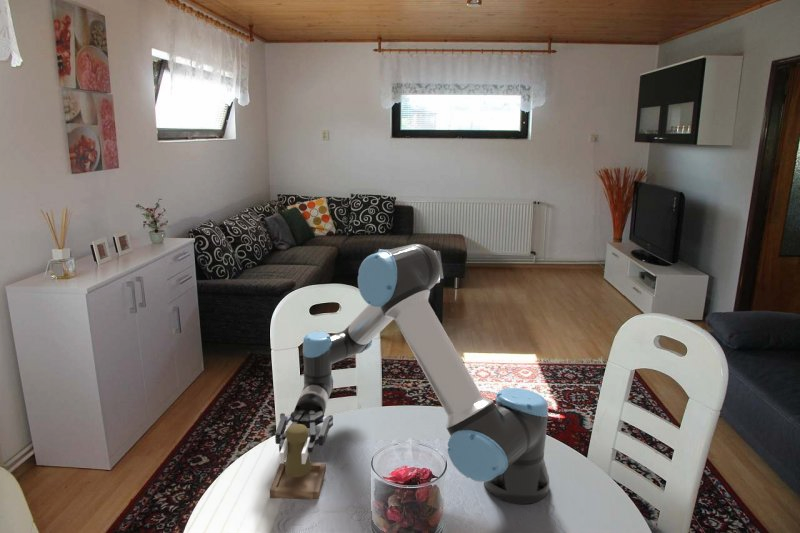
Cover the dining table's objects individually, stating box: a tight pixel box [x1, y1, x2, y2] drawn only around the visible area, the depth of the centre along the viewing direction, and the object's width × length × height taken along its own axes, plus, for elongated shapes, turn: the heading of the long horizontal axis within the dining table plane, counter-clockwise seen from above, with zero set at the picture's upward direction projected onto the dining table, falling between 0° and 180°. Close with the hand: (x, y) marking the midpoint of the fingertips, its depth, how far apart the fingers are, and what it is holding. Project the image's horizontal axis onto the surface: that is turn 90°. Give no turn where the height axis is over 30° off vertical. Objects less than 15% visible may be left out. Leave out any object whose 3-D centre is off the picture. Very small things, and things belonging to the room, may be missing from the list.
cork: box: [285, 424, 312, 477], centre depth 131 cm, size 6×6×11 cm
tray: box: [269, 461, 327, 501], centre depth 133 cm, size 11×11×2 cm
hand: (292, 458), depth 126 cm, fingers closed on cork, 4 cm apart
